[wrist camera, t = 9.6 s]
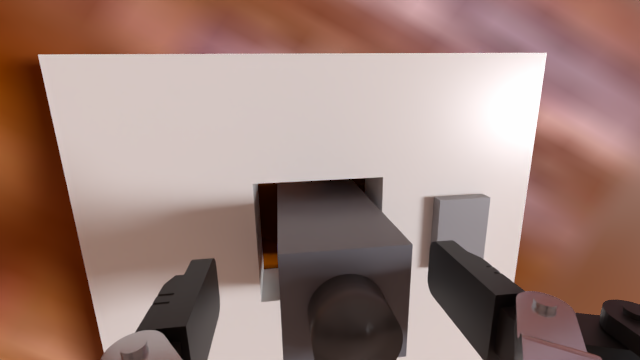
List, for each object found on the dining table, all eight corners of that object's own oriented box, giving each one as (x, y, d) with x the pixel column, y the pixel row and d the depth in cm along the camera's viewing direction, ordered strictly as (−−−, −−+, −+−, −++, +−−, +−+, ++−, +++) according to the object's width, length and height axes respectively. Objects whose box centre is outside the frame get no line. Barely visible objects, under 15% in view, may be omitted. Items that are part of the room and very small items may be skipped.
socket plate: (142, 361, 18) (110, 423, 15) (86, 63, 14) (25, 52, 11) (471, 324, 21) (510, 369, 17) (500, 61, 17) (558, 50, 13)
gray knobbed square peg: (280, 253, 18) (284, 416, 9) (277, 183, 17) (277, 283, 8) (351, 248, 18) (426, 397, 9) (352, 180, 17) (436, 270, 8)
